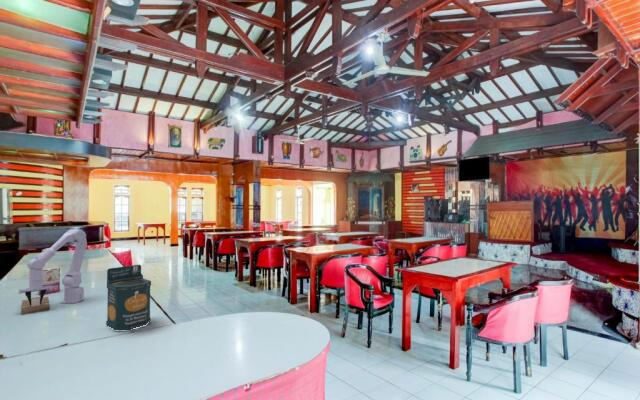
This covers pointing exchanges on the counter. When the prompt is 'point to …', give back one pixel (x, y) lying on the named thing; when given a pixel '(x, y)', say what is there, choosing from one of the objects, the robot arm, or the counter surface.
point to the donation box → (127, 298)
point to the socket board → (28, 309)
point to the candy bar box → (51, 280)
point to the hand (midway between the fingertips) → (35, 304)
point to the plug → (35, 301)
